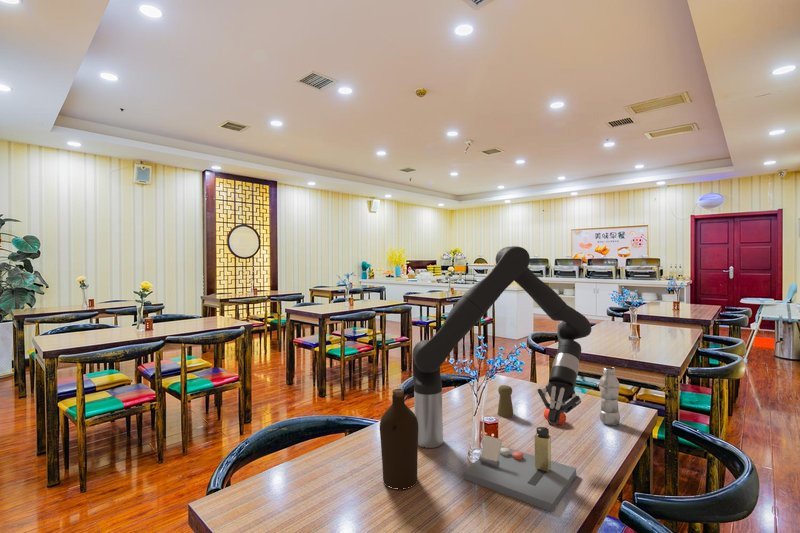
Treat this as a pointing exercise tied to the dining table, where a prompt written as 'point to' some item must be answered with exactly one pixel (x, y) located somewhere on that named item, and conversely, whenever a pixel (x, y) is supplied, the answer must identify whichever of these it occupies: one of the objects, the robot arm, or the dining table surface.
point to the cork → (505, 401)
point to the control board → (523, 478)
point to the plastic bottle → (609, 397)
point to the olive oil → (399, 443)
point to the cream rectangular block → (491, 451)
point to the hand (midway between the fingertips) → (552, 423)
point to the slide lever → (542, 449)
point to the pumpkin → (561, 420)
